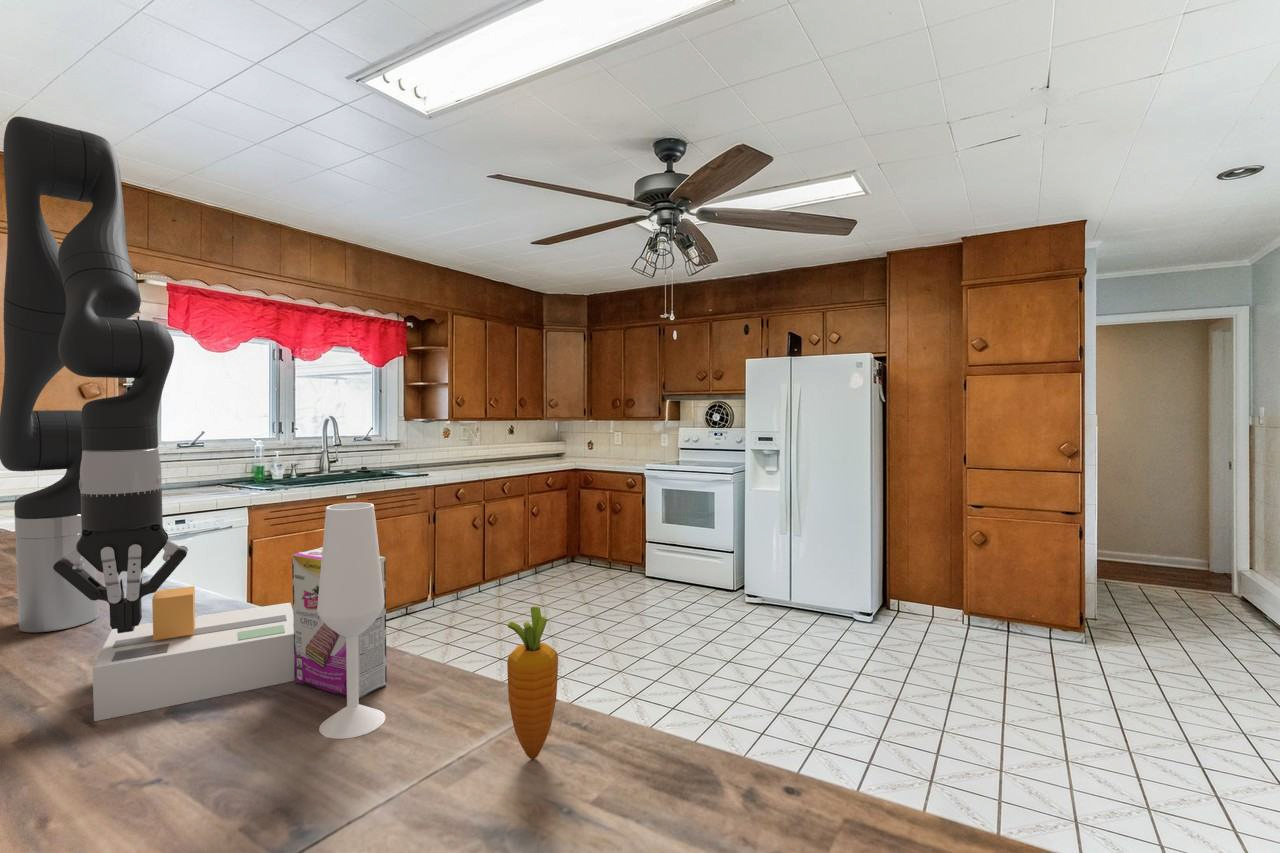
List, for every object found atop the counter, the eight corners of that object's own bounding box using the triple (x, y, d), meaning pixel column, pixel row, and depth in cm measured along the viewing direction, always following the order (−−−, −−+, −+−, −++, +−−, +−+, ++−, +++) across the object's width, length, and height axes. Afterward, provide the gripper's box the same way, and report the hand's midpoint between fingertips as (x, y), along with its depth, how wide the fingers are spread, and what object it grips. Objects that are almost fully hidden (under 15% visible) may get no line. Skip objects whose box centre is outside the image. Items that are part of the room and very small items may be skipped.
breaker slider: (156, 630, 80) (155, 590, 80) (195, 624, 82) (194, 585, 82) (153, 640, 77) (152, 599, 77) (193, 634, 79) (193, 594, 79)
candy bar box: (291, 684, 80) (289, 553, 79) (325, 668, 84) (324, 545, 84) (356, 702, 75) (354, 564, 74) (389, 685, 80) (387, 555, 79)
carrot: (535, 779, 60) (535, 622, 60) (496, 763, 63) (496, 613, 62) (568, 755, 64) (568, 608, 64) (530, 740, 67) (530, 599, 66)
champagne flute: (334, 746, 66) (330, 514, 65) (309, 723, 70) (305, 506, 69) (396, 722, 71) (394, 506, 70) (369, 702, 75) (367, 499, 74)
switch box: (114, 674, 82) (112, 627, 82) (291, 643, 93) (290, 601, 93) (94, 721, 70) (92, 667, 70) (299, 679, 81) (299, 632, 81)
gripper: (192, 480, 83) (195, 612, 84) (56, 486, 76) (60, 631, 77) (188, 487, 76) (191, 630, 77) (39, 495, 69) (44, 652, 70)
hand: (126, 630), depth 77 cm, fingers closed
